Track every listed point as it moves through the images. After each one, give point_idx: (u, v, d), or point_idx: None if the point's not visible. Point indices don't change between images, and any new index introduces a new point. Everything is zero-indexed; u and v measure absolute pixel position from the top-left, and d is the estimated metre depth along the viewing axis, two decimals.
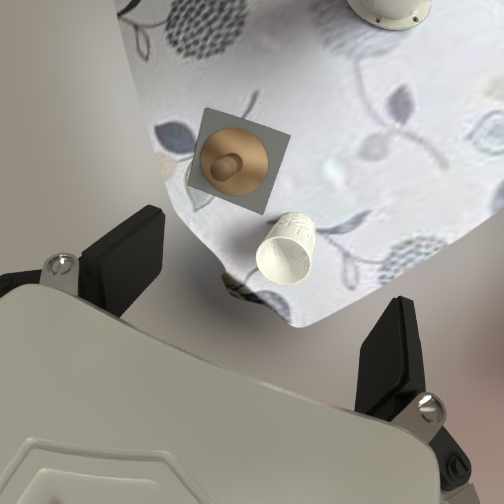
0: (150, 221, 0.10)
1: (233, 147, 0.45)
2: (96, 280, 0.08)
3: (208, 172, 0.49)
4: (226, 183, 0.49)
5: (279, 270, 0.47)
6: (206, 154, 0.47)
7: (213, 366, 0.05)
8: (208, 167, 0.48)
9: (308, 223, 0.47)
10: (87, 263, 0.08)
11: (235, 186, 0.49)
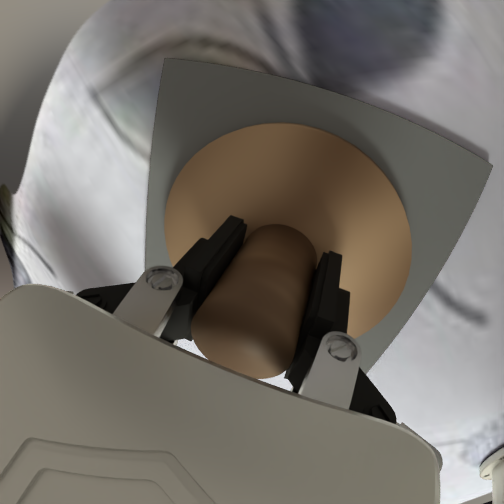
0: (238, 232, 0.11)
1: None
2: (197, 293, 0.09)
3: (224, 156, 0.11)
4: (198, 227, 0.13)
5: None
6: (304, 151, 0.10)
7: (213, 366, 0.05)
8: (247, 157, 0.11)
9: None
10: (190, 276, 0.09)
11: None
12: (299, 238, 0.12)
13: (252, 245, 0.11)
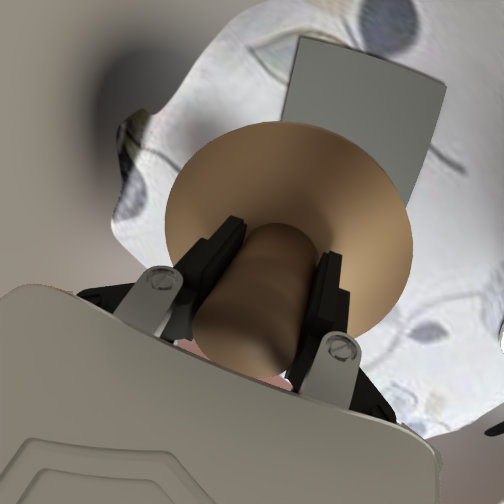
0: (238, 232, 0.11)
1: None
2: (197, 293, 0.09)
3: (225, 155, 0.11)
4: (198, 226, 0.13)
5: None
6: (305, 149, 0.10)
7: (213, 366, 0.05)
8: (248, 156, 0.11)
9: None
10: (190, 276, 0.09)
11: None
12: (300, 237, 0.12)
13: (253, 244, 0.11)
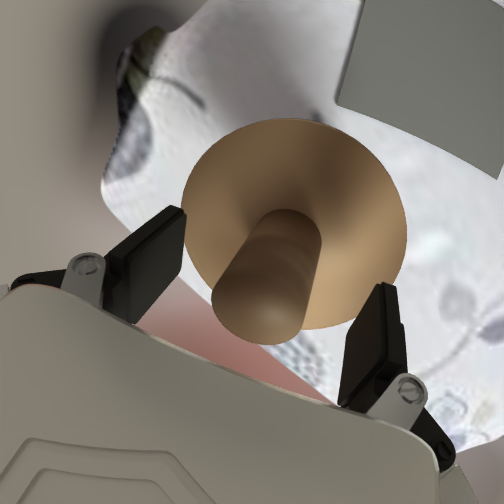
0: (173, 221, 0.11)
1: (340, 248, 0.14)
2: (122, 280, 0.09)
3: (239, 147, 0.13)
4: (213, 212, 0.15)
5: None
6: (311, 143, 0.12)
7: (213, 366, 0.05)
8: (259, 148, 0.12)
9: None
10: (114, 263, 0.09)
11: (209, 241, 0.15)
12: (306, 221, 0.13)
13: (264, 226, 0.12)
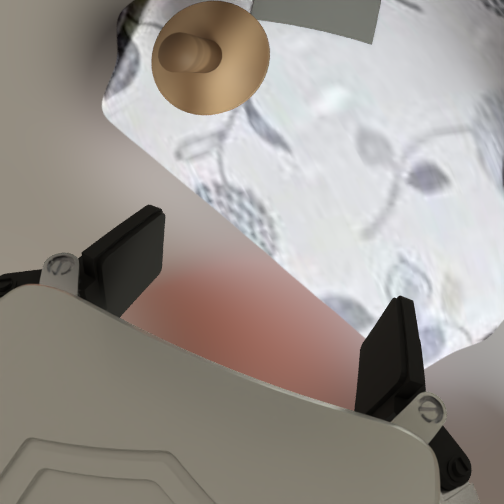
0: (150, 221, 0.10)
1: (232, 52, 0.22)
2: (96, 280, 0.08)
3: (180, 19, 0.21)
4: None
5: None
6: (211, 9, 0.20)
7: (213, 366, 0.05)
8: (189, 17, 0.20)
9: None
10: (87, 263, 0.08)
11: None
12: (211, 40, 0.21)
13: None
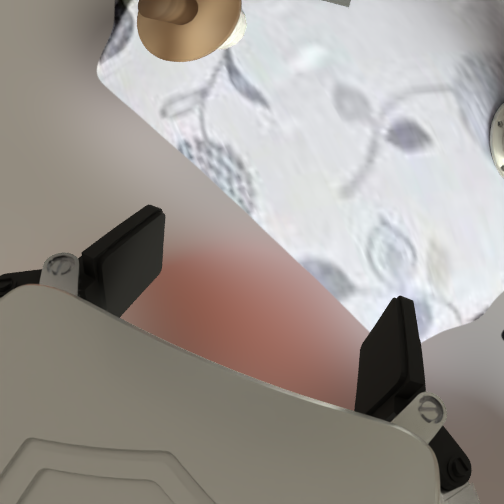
0: (150, 221, 0.10)
1: (206, 6, 0.21)
2: (96, 280, 0.08)
3: None
4: None
5: None
6: None
7: (213, 366, 0.05)
8: None
9: (236, 36, 0.29)
10: (87, 263, 0.08)
11: (149, 23, 0.23)
12: None
13: None
